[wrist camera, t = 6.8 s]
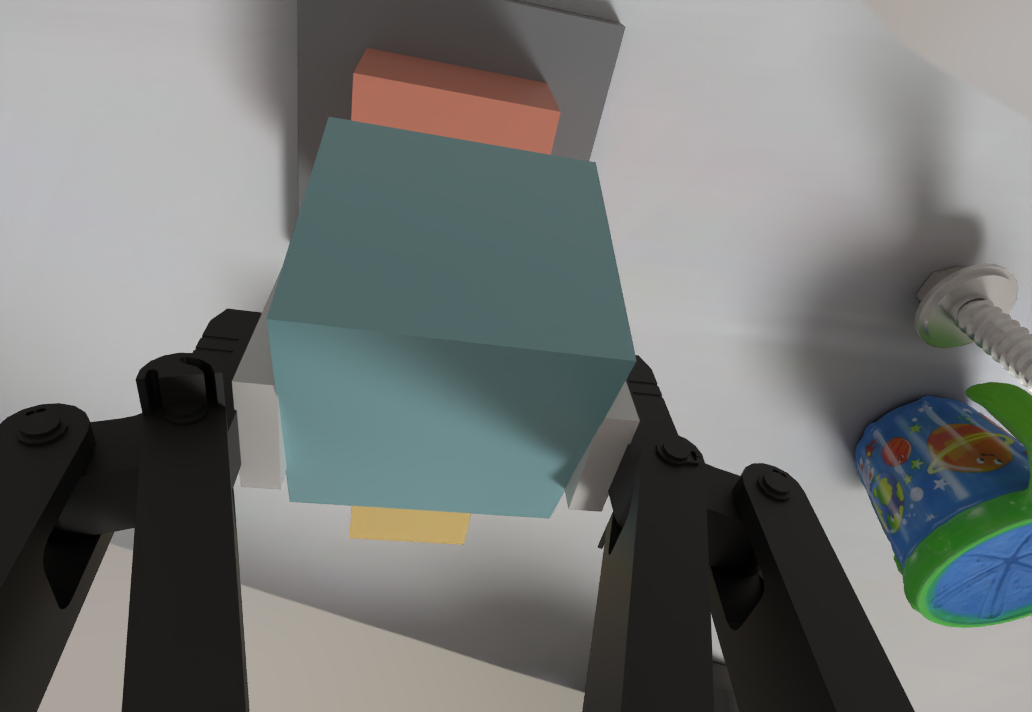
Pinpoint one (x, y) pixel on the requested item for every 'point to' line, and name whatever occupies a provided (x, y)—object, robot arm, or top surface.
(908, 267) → the top surface
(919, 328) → the screw
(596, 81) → the base
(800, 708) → the robot arm
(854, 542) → the top surface
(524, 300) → the teal brick
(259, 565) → the top surface
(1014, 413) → the snack cup
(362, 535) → the ochre brick
